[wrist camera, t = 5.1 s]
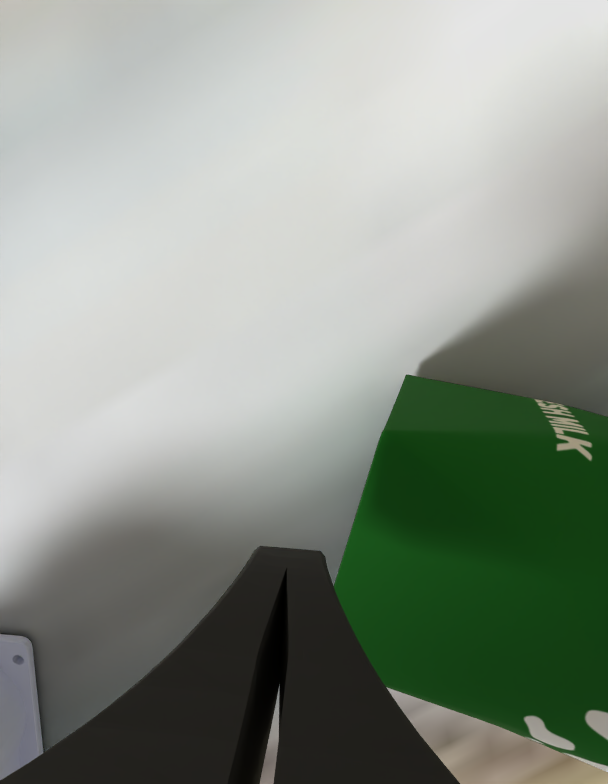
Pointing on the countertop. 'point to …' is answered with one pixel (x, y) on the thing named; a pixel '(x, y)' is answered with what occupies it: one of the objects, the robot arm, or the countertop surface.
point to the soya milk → (488, 562)
